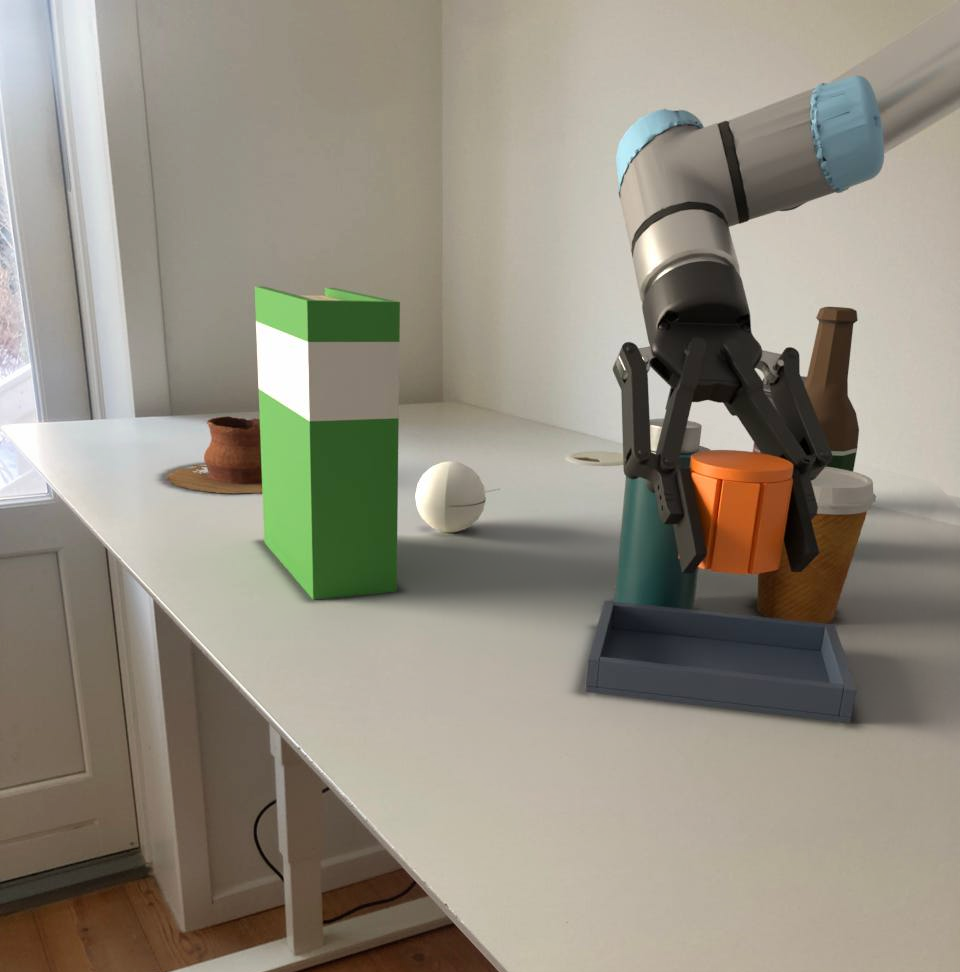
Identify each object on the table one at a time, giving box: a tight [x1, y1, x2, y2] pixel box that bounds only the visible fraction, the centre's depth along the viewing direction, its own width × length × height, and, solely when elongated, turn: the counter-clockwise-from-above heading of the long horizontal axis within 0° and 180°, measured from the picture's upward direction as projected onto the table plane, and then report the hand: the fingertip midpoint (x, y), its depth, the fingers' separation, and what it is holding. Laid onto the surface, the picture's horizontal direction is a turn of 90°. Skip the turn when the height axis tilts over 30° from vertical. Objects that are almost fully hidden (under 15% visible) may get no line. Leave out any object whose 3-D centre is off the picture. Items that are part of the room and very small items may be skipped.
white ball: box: [415, 460, 500, 534], centre depth 107 cm, size 10×7×7 cm
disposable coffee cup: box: [757, 467, 877, 624], centre depth 86 cm, size 10×10×12 cm
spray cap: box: [678, 449, 794, 576], centre depth 70 cm, size 7×7×7 cm
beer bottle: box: [804, 306, 860, 472], centre depth 102 cm, size 8×8×24 cm
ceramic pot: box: [164, 416, 263, 494], centre depth 125 cm, size 18×18×7 cm
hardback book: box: [254, 285, 401, 601], centre depth 90 cm, size 18×7×24 cm, turn 24°
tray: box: [584, 600, 858, 724], centre depth 74 cm, size 18×13×3 cm
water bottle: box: [613, 418, 711, 610], centre depth 83 cm, size 7×7×16 cm
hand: (750, 562), depth 68 cm, fingers closed on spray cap, 7 cm apart
